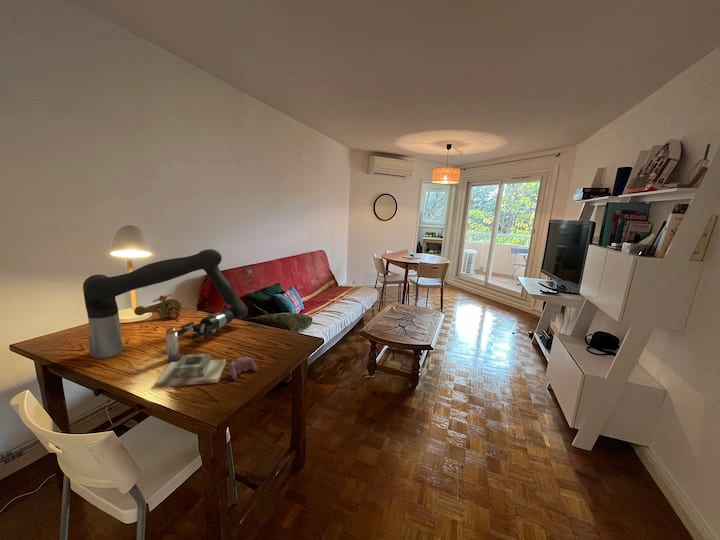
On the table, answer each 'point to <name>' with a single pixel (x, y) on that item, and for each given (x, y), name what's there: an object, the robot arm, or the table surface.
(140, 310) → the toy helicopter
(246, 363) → the video game controller
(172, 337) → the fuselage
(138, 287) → the robot arm
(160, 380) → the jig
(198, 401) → the table surface
